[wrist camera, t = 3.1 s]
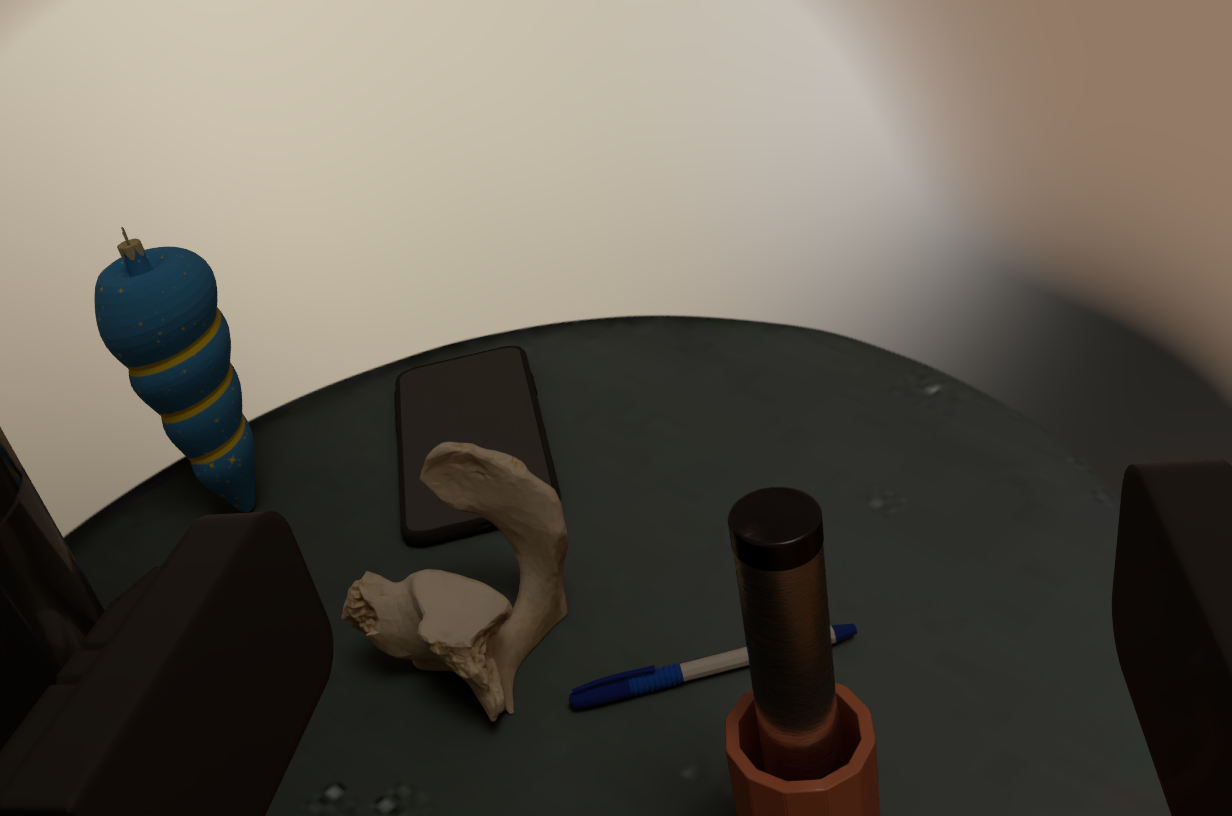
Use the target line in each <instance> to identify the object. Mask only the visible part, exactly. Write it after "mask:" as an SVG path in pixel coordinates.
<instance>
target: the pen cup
mask: <svg viewBox="0 0 1232 816" xmlns="http://www.w3.org/2000/svg"><path fill="white" fill-rule="evenodd" d="M835 690H836V702H837V714H838V726H839V738H840V750H841V762H842V768H840V769H838V770H836V771H835V772H833V773H831V774H829V775H827V776H826V777H824V778H822V779H818V780H801V781H785V780H782V779H780V778H777V777H775V776H772V775H770V774H767V773H765V772H764V766H763V759H762V752H761V745H760V738H759V731H758V724H757V716H756V709H755V702H754V695H753V689H751V690H749V691H747V692H745V693H744V694H743V695H742V696H741V697H740V699H739V700H738V702H737V704H736V705H735V707H734V708H733V710H732V711H731V713H730V714H729V716H728V717H727V719H726V721H725V735H726V753H727V759H728V765H729V771H730V777H731V783H732V789H733V795H734V801H735V807H736V813H737V816H880V807H879V790H878V772H877V754H876V740H875V734H874V728H873V723H872V717H871V712H870V710H869V709H868V708H867V707H866V706H865V705H864V704H863V703H862V702H861V701H860V700H859V699H858V698H857V697H856V696H855V695H854V694H853V693H852V692H851V691H850V690H849V689H848V688H847V687H846V686H844V685H841V684H838V683H835Z"/></svg>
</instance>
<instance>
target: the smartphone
mask: <svg viewBox="0 0 1232 816" xmlns="http://www.w3.org/2000/svg"><path fill="white" fill-rule="evenodd" d="M395 384H396V392H395V401H396V402H395V414H396V416H395V419H396V431H397V440H398V465H399V491H400V516H401V532H402V535H403V537H404V538H405V540H406V541H407V542H409V543H411V544H415V545H426V544H432V543H436V542H440V541H444V540H448V539H453V538H457V537H461V536H465V535H469V534H473V533H477V532H481V531H485V530H489V529H493V528H497V527H496V526H495V525H494V524H493V523H492V522H490V521H488V520H487V519H485V518H483V517H481V516H479V515H477V514H474V513H468V512H464V511H460V510H457V509H453V508H450V507H448V506H446V505H445V504H443V503H442V502H440V501H439V500H438V499H437V498H436V497H435V495H433V494H432V493H431V492H430V490H429V488H428V487H427V486H426V485H425V484H424V483H423V482H422V481H421V480H420V474H421V471H422V468H423V466H424V463H425V460H426V457H427V456H428V454H429V453H430V452H431V451H432V450H433V449H434V448H435V447H437V446H438V445H439V444H441V443H442V442H456V443H471V444H474V445H476V446H478V447H481V448H484V449H488V450H494V451H498V452H502V453H505V454H508V455H510V456H513V457H515V458H517V459H518V460H520V461H522V462H523V463H524V464H525V465H526V467H527V469H528V470H529V472H531V473H532V474H533V475H535V476H536V477H537V478H538V479H540V480H542V481H543V482H545V483H546V484H548V485H549V486H551V487H552V488H554V489H555V491H556V493H557V495H558V497H559V500H560V498H561V495H560V489H559V485H558V481H557V477H556V473H555V469H554V465H553V461H552V456H551V452H550V448H549V444H548V440H547V436H546V432H545V428H544V424H543V420H542V415H541V411H540V407H539V403H538V399H537V390H536V386H535V382H534V378H533V375H532V373H531V371H530V367H529V363H528V359H527V355H526V352H525V351H524V350H523V349H522V348H521V347H518V346H506V347H500V348H496V349H492V350H487V351H483V352H479V353H475V354H470V355H466V356H462V357H458V358H453V359H449V360H445V361H440V362H436V363H432V364H428V365H423V366H419V367H415V368H412V369H409V370H407V371H405V372H403V373H401V374H400V375H399V376H398V377H397V379H396V383H395Z"/></svg>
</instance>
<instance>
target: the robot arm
mask: <svg viewBox="0 0 1232 816" xmlns="http://www.w3.org/2000/svg"><path fill="white" fill-rule="evenodd" d="M1112 620H1113V630H1114V638H1115V644H1116V649H1117V654H1118V658H1119V662H1120V666H1121V669H1122V672H1123V675H1124V678H1125V681H1126V684H1127V687H1128V690H1129V692H1130V695H1131V698H1132V701H1133V704H1134V707H1135V710H1136V713H1137V716H1138V719H1139V722H1140V725H1141V728H1142V730H1143V733H1144V736H1145V739H1146V742H1147V745H1148V748H1149V751H1150V754H1151V757H1152V760H1153V763H1154V766H1155V768H1156V771H1157V774H1158V777H1159V780H1160V783H1161V786H1162V789H1163V792H1164V795H1165V798H1166V801H1167V804H1168V806H1169V809H1170V812H1171V815H1172V816H1232V467H1231V465H1230V464H1229V463H1228V462H1227V461H1225V460H1204V461H1187V462H1169V463H1152V464H1135V465H1130V466H1128V468H1127V469H1126V471H1125V474H1124V479H1123V485H1122V493H1121V504H1120V515H1119V526H1118V537H1117V547H1116V558H1115V569H1114V580H1113V591H1112ZM332 661H333V636H332V629H331V625H330V622H329V619H328V616H327V614H326V611H325V609H324V607H323V604H322V602H321V599H320V597H319V595H318V592H317V590H316V587H315V585H314V583H313V580H312V578H311V575H310V573H309V571H308V568H307V566H306V563H305V561H304V559H303V556H302V554H301V551H300V549H299V547H298V544H297V542H296V539H295V537H294V535H293V532H292V530H291V528H290V526H289V524H288V522H287V521H286V519H285V518H284V517H283V516H282V515H280V514H279V513H277V512H273V511H269V512H252V513H234V514H217V515H205V516H202V517H200V518H198V519H197V520H196V521H195V522H194V523H193V524H192V525H191V526H190V528H189V529H188V530H187V532H186V533H185V535H184V536H183V537H182V539H181V540H180V542H179V543H178V544H177V546H176V547H175V548H174V550H173V551H172V553H171V554H170V555H169V557H168V558H167V560H166V561H165V562H164V564H163V565H162V567H155V568H153V569H152V570H151V571H150V572H148V573H147V574H146V575H145V576H144V577H142V578H141V579H140V580H139V581H137V582H136V583H135V584H134V585H132V586H131V587H130V588H129V589H128V590H126V591H125V592H124V593H123V594H121V595H120V596H119V597H118V598H116V599H115V600H114V601H113V602H112V603H111V604H110V605H109V606H108V608H107V609H106V610H104V609H103V607H102V605H101V603H100V602H99V600H98V598H97V596H96V595H95V593H94V591H93V589H92V588H91V586H90V584H89V582H88V580H87V579H86V577H85V575H84V573H83V572H82V570H81V568H80V566H79V565H78V563H77V561H76V559H75V558H74V556H73V554H72V552H71V551H70V549H69V547H68V545H67V544H66V542H65V540H64V538H63V536H62V535H61V533H60V531H59V529H58V528H57V526H56V524H55V523H54V521H53V519H52V517H51V516H50V514H49V512H48V510H47V508H46V507H45V505H44V503H43V501H42V500H41V498H40V496H39V494H38V493H37V491H36V489H35V487H34V486H33V484H32V482H31V480H30V478H29V477H28V475H27V473H26V471H25V470H24V468H23V466H22V465H21V463H20V461H19V459H18V458H17V456H16V454H15V452H14V450H13V449H12V447H11V445H10V444H9V442H8V440H7V438H6V436H5V435H4V433H3V431H2V429H1V427H0V816H265V815H266V813H267V811H268V808H269V806H270V804H271V802H272V800H273V798H274V796H275V793H276V791H277V789H278V787H279V785H280V783H281V781H282V778H283V776H284V774H285V772H286V770H287V768H288V766H289V763H290V761H291V759H292V757H293V755H294V753H295V751H296V748H297V746H298V744H299V742H300V740H301V738H302V736H303V733H304V731H305V729H306V727H307V725H308V723H309V721H310V718H311V716H312V714H313V712H314V710H315V708H316V706H317V703H318V701H319V699H320V697H321V695H322V693H323V691H324V688H325V686H326V684H327V681H328V679H329V675H330V672H331V667H332Z"/></svg>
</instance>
